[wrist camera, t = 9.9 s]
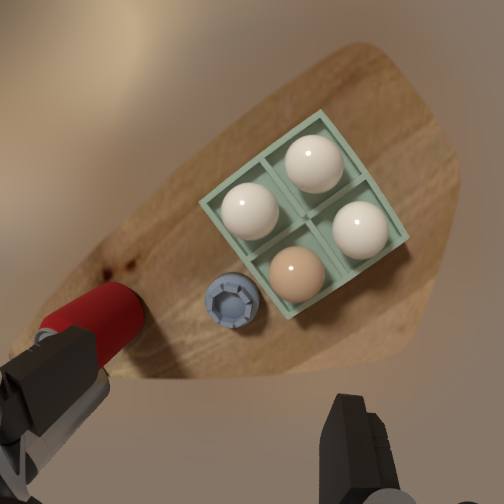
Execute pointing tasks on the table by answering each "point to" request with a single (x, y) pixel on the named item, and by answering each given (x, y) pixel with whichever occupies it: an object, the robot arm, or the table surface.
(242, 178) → the egg carton
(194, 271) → the table surface
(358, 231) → the white egg
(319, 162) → the white egg
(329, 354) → the table surface
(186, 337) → the table surface
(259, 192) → the white egg
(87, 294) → the beverage can
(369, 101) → the table surface
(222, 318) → the egg cup
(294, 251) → the brown egg
